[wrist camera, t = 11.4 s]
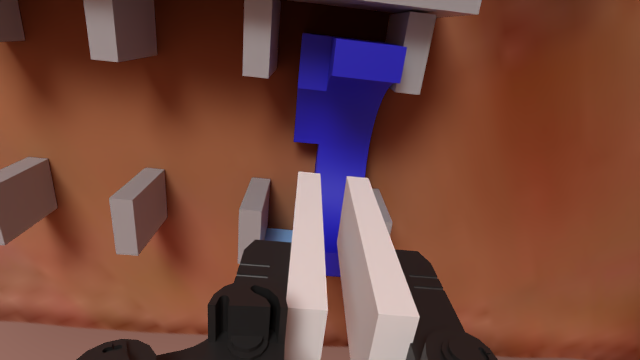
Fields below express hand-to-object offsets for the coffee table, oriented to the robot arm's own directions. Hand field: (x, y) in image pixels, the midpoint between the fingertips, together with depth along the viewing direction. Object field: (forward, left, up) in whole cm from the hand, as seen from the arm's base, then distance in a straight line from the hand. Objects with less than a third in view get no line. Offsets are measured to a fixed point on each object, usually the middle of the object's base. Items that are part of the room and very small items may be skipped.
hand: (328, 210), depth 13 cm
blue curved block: (-1, 0, -11) cm, 11 cm away
